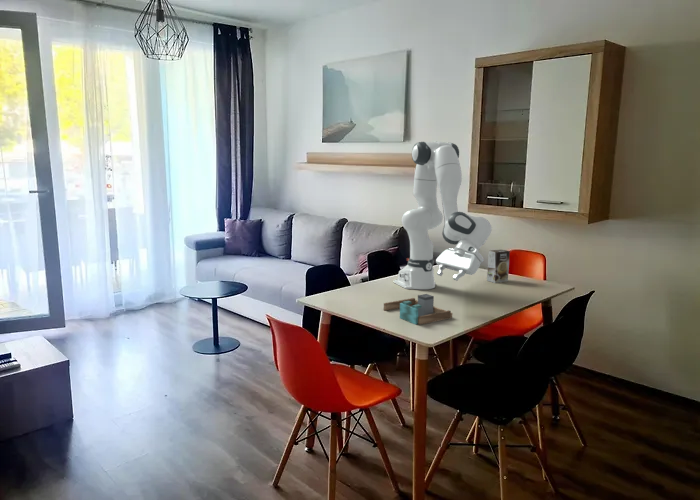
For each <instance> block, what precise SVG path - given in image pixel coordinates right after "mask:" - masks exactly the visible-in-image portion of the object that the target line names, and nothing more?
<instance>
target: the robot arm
mask: <svg viewBox="0 0 700 500" xmlns="http://www.w3.org/2000/svg"><path fill="white" fill-rule="evenodd" d="M459 157H460V149H459V147H458V145H457V144H456V143H454V142H447V141H446V142H445V141H419V142H416V143H415V144H414V145H413V147H412V150H411V159H412V161H413V163H414V164H416V166H415V168H414V169H415V170H414V175H413V177H414V178H413V192H412V195H413V197H414V198H415V200H416V202H417V208H413V209H409V210H407V211H405V212H404V213H403V215H402V217H401V225H402V227H403V228H404V230H405V231H406V232H407V236H408V239H409V257H407V259H406V262H407V265H405V266H404V267H403V268H402V269H400V270H399V271H398V274H397V276H398V277H397V279H393V280H392V281H393V283H394V284H396V285H398V286H400V287H402V288H404V289H407V290H410V289H411V290H431V289H432V290H433V289H434V288H435V287H436V281H435V270H434V268H433V267H434V262H435V263H436V265H437V266H438V270H437V272H436V275H437V276H438V277H439V276H440V277H442V276H443V275H444V272H443V271H444V270H445V269H447V270H450V271H454V272H458V273H457V274H454V275H453V276H452V280H454V281H456V282H457V281H459V280H460V278H462V277H464V276H465V275H470V276H473V275H475V273H476V272H478V270H479V268H480V266H481V263H483V261H484V260H485V258H484V257H483V255H482V254H481V253H480V249H481V247H482V246H483V245H485V243H486V242H487V240H488V239H489V237H490V236H491V234H492V230H493V227H492V225H491V223H490V221H489V220H488V219H487V218H485V217H483V216H472V215H469V214H466V213H465V212H463V211H459V210H458V195H459V191H460V189H461V185H462V179H463V178H462V168H461V163H460V160H459ZM437 188H438V189H439V194H440V198H441V204H442V211H441V210H440V208H439V205H438V200H437V192H438V191H437V190H438V189H437ZM442 212H443V213H442ZM443 218H444V220H443ZM443 221H444V225H443V228H442V233H441V234H442V238H443V239H444V242H446V243H448V244H450V245H455V247H454V248H452V247H448V248H446V249H445V250H443V251H442V252H441V253H440V254H439V256H437V258H436V259H435V260H434V256H433V255H434V243H433V241H432V240H431V238H430V236H429V231H428V230H433V229H436V228H437V227H439V226H441V224H443V223H442V222H443Z"/></svg>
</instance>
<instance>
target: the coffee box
mask: <svg viewBox="0 0 700 500" xmlns="http://www.w3.org/2000/svg"><path fill="white" fill-rule="evenodd" d="M510 253H511V252H510V250H507V249H492V250H491V249H490V250H488V257H487V258H488V259H487V273H486V274H487V275H486V281H487V282H490V283H493V284H497V283H505V282H508V281H509V271H510V269H509V268H510Z"/></svg>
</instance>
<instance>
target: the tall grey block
mask: <svg viewBox="0 0 700 500" xmlns="http://www.w3.org/2000/svg"><path fill="white" fill-rule="evenodd" d="M417 301H418V304H419V305H422V308H418V317H419V316H424V315H429V314H434V312H433V306H434V304H435V303H434V295H432V294H431V295H430V294H428V293H424V294H423V293H422V294H418V295H417Z"/></svg>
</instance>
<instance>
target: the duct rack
mask: <svg viewBox="0 0 700 500" xmlns="http://www.w3.org/2000/svg"><path fill="white" fill-rule="evenodd" d="M418 308H422V305H419V304H418V299H416V298H415V297H411V298H405V299H401V300H394V301H389V302H388V301H387V302H383V311H384V312H385V311H391V310H395V309H397V310H398V309H399V319H402V320H404V321H405V322H409V323H411V324H413V325H419V326H421V325H427V324H430V323H434V322H439V321H443V320H449V319H452V318H453V312H451V310H445V309H442V308H440V307H437V306H434V305H433V314H429V315H424V316H419V317H418Z"/></svg>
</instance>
